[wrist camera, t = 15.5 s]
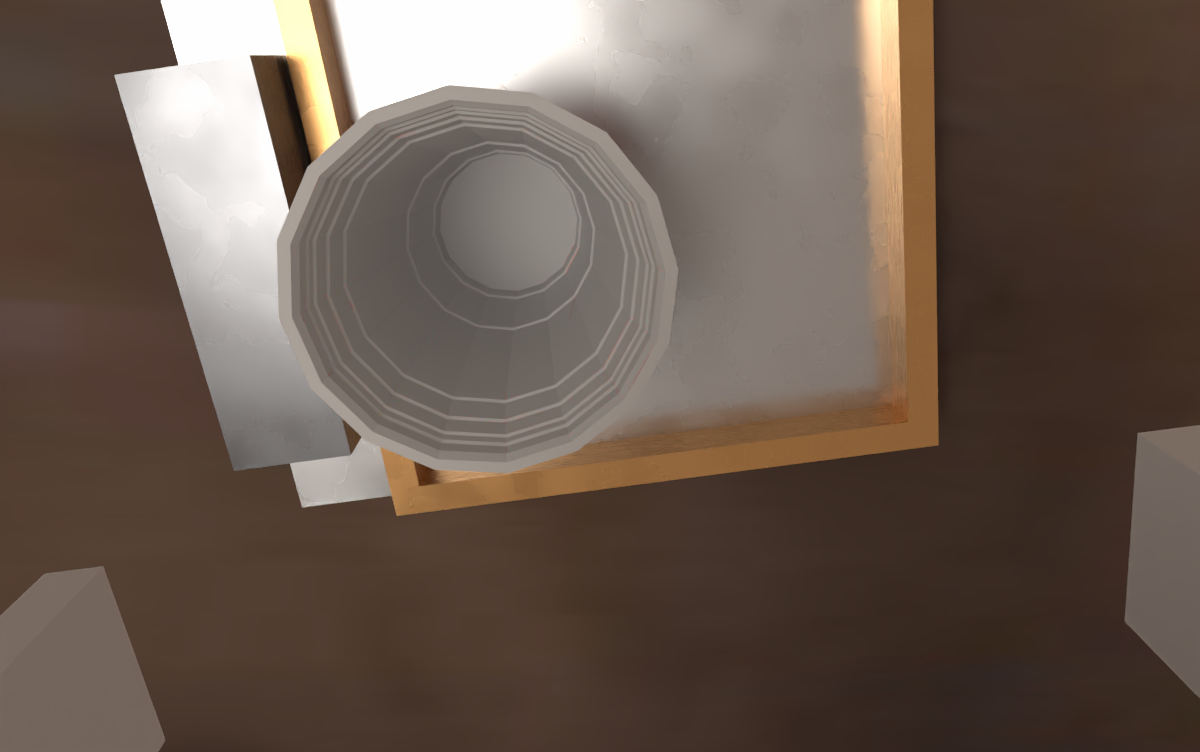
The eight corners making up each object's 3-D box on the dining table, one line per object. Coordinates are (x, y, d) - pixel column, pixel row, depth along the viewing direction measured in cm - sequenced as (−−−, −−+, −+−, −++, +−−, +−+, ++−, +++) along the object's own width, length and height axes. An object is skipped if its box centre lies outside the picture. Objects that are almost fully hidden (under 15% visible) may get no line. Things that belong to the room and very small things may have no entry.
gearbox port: (911, 415, 40) (968, 477, 34) (310, 494, 41) (263, 568, 35) (898, -161, 32) (967, -209, 26) (161, -49, 33) (70, -71, 27)
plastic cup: (607, 386, 38) (614, 524, 26) (351, 315, 37) (242, 426, 25) (688, 128, 34) (737, 156, 23) (409, 41, 33) (315, 26, 22)
